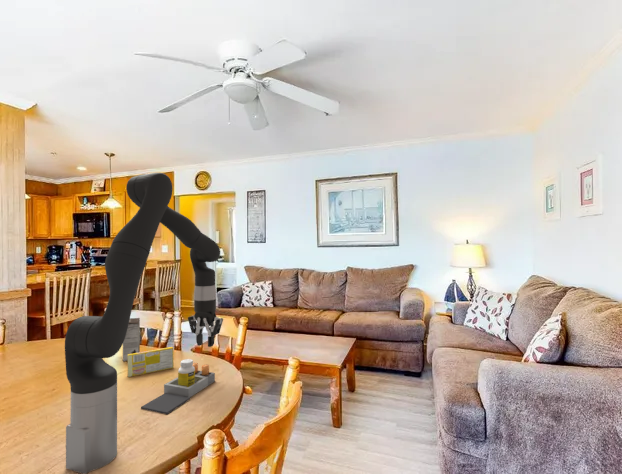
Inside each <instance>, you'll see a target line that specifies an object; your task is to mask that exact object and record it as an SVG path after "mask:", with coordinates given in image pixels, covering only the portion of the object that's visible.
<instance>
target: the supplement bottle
mask: <svg viewBox="0 0 622 474" xmlns="http://www.w3.org/2000/svg"><path fill="white" fill-rule="evenodd" d="M193 363H194V360H193V359H191V358H186V359H182V360H181V361H180V364H179V365H180V367H179V368H178V370H177V377H178V386H184V387H189V386H191V385H193V384H194V383H195V367H194V366H192V365H193Z"/></svg>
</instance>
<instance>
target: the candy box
mask: <svg viewBox="0 0 622 474" xmlns="http://www.w3.org/2000/svg"><path fill="white" fill-rule="evenodd" d="M127 358H128V361H127V378H131V377H135V376H140V375H146V374H149V373H157V372H160V371H161V372H162V371H165V370H170V369H174V347H173V346H169V347H164V348H158V349H151V350H145V351H140V352H139V353H133V354H128V355H127Z"/></svg>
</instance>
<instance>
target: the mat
mask: <svg viewBox="0 0 622 474" xmlns="http://www.w3.org/2000/svg"><path fill="white" fill-rule="evenodd" d="M190 400H191V397H185V396H179V395H174V394H168V393H164V392H163V394H160V395H159V396H157V397H156V398H154V399H152V400H150V401H148V402H147V403H145V404H143V405H142V406H140V409H141V410H145V411H148V412H152V413H159V414H163V415H169V414H170V413H171V412H174V411H175V410H177V409H178V408H180V407H181V406H183V405H184V404H186V403H187V402H189V401H190Z"/></svg>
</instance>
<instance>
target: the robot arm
mask: <svg viewBox="0 0 622 474" xmlns="http://www.w3.org/2000/svg"><path fill="white" fill-rule="evenodd" d="M173 189H174V188H173V182H172V180H171V178H170V177H169V176H168V175H167V174H165V173H163V172H151V173H150V172H149V173H144V174H139V175H135V176H132V177H130V178H129V179H128V181H127V182H126V193H127V196H128V198H129V199H130V200H131V201H132V203H133V204H135V205H136V206H137V207H138V208H139V209H138V210H137V212H136V213H135V214H134V215H133V217H132V218H131V219H130V220H129V221H128V222H126V224H125V225H124V226H123V227H122V228H121V229H120V231H118V233H117V234H116V235H115V236H114V238H113V240H112V243H111V245H110V247H109V250H108V252H107V255H106V256H105V257H106V258H105V260H104V267H105V268H104V270H105V274H106V275H105V276H106V278H107V283H108V287H109V298H108V302H107V305H106V308H105V311H104V312H103V315H102V316H97V315H84V316H79V317H77V318H75V319H74V320H73V321H72V322H71V323H70V325H69V327H68V328H67V330H66V333H65V337H64V338H65V339H64V359H65V374H66V378H67V381H68V382H69V385H70V387H69V388H70V421H69V422H70V423H69V424H67V425H66V426H65V469H66V470H71V471H73V472H77V473H78V474H79V473H80V474H88V473H89V472H92V471H95V470H98V469H100V468H103V467H105V466H107V465H109V463H111V462H112V461H113V460H114V459H115V458H116V456H117V455H118V372H117V369H116V368H115V367H113V366H112V365H111V364H109V363H107V362H106V361H105V359H108V358H112V357H114V356H115V355H117V354H118V352H119V351H120V350H121V348H122V347H123V342H124V339H125V336H126V333H127V329H128V325H129V320H130V318H131V316H132V312H133V311H132V310H133V306H134V302H135V298H136V295H137V290H138V287H139V285H140V281H141V278H142V276H143V272H144V270H145V267H146V265H147V262H148V261H147V260H148V259H149V255H150V252H151V249H152V245H153V242H154V240H155V237H156V234H157V231H158V229H159V227H160V224H161V225H163V226H164V227H165V228H166V229H168V230H169V231H170V233H172V234H173V235H175V237H176V238H177V239H178V240H179V242H181V243H182V244H183V245H184V246H185V247H186V248H189V250H190V251H189V257H190V261H191V266H192V269H193V272H194V291H193V293H194V294H193V295H194V296H193V299H194V302H193V307H194V308H193V309H194V310H193V311H194V315H191V316H188V317H187V321H188V324H189V328H190V332H191V333H192V334H195V337H196V339H195V340H196V345H197V347H200V346H202V345H203V341H204V340H203V339H204V335H203V331H204V328H205V330H206V332H207V347H208V348H211V347H214V345H215V336H216V335H218V334H220V331H221V328H222V326H223V321H224V318H222V317H220V318H219V316H217V314H216V310H217V288H216V271H215V270H214V269H213V268H210V267H208V265H207V263H213V262H217V261H218V260H219V259H220V256H221V249H220V246H219V245H218V243H217V242H215V240H213V239H212V238H210V237H209V236H208V235H205V234H204V233H203V232H202V231H201V230H200V229H199V228H198V227H197V225H196V224H195V223H194V222H193V221H192V220H191V219H189V217H187V216H185V215H183V214H181V213H180V212H179V211H176V210H174V209H173V208H171V207H169V204H170V202H171V199H172V196H173Z"/></svg>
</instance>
